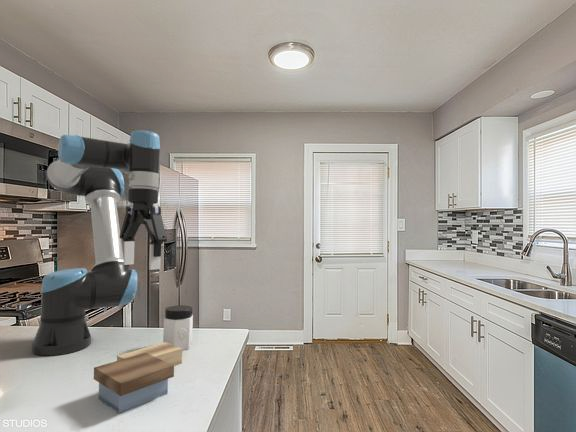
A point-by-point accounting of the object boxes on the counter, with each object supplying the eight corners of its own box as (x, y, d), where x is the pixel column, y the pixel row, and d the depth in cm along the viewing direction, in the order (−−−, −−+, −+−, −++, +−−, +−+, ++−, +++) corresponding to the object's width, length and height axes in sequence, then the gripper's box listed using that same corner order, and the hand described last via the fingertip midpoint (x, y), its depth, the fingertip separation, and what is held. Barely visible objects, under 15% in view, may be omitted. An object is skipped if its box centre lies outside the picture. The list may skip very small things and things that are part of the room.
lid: (93, 379, 77) (94, 367, 77) (145, 363, 87) (145, 352, 87) (120, 396, 70) (121, 383, 70) (173, 376, 79) (174, 365, 79)
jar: (166, 353, 104) (167, 312, 104) (159, 345, 111) (160, 307, 111) (196, 348, 109) (197, 309, 109) (188, 340, 116) (189, 304, 116)
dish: (98, 399, 76) (99, 380, 77) (146, 382, 85) (146, 365, 85) (118, 413, 71) (119, 393, 71) (167, 393, 80) (168, 375, 80)
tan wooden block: (116, 371, 91) (117, 355, 91) (165, 356, 102) (165, 342, 102) (132, 380, 86) (133, 363, 86) (181, 363, 97) (182, 348, 97)
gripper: (108, 189, 101) (105, 263, 101) (156, 185, 86) (153, 273, 85) (133, 191, 107) (131, 261, 107) (182, 188, 92) (180, 270, 91)
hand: (141, 266), depth 96 cm, fingers open, 13 cm apart
